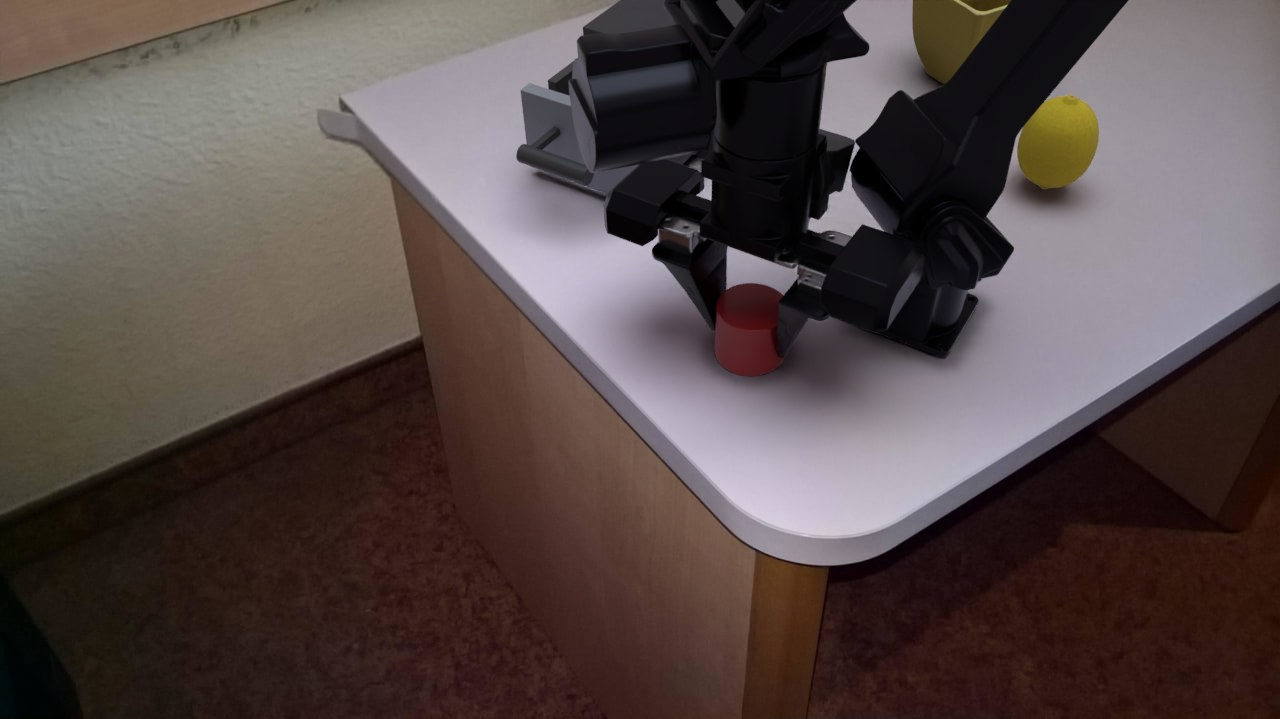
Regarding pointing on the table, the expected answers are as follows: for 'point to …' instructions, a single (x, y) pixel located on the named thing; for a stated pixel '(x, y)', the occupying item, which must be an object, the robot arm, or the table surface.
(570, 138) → the pod drawer
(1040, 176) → the lemon
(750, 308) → the cylinder
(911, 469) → the table surface
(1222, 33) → the table surface
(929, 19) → the flower pot
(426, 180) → the table surface
